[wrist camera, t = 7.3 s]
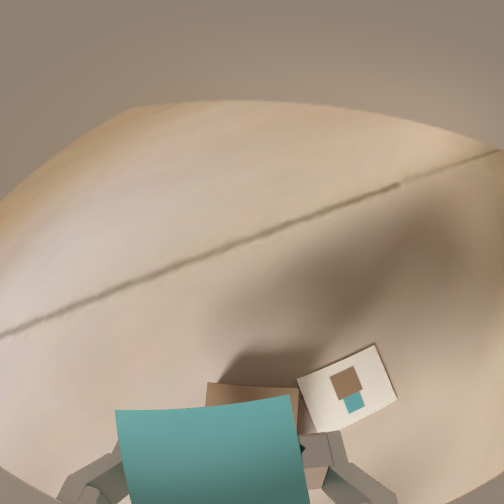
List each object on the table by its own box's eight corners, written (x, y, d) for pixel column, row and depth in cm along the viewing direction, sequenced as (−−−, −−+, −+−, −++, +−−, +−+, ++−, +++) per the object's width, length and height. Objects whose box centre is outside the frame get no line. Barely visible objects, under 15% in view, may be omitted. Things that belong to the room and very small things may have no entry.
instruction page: (373, 345, 24) (374, 344, 24) (395, 399, 22) (397, 399, 21) (296, 379, 24) (296, 379, 23) (318, 437, 21) (319, 438, 20)
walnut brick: (294, 389, 23) (298, 387, 20) (289, 461, 20) (293, 471, 16) (216, 385, 24) (207, 382, 20) (210, 456, 20) (200, 464, 17)
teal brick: (275, 397, 14) (288, 394, 6) (290, 471, 12) (317, 543, 4) (194, 408, 14) (115, 410, 6) (207, 481, 12) (146, 549, 4)
